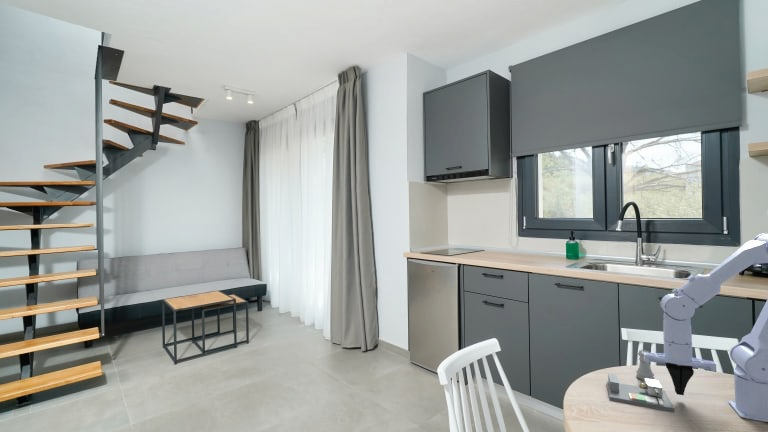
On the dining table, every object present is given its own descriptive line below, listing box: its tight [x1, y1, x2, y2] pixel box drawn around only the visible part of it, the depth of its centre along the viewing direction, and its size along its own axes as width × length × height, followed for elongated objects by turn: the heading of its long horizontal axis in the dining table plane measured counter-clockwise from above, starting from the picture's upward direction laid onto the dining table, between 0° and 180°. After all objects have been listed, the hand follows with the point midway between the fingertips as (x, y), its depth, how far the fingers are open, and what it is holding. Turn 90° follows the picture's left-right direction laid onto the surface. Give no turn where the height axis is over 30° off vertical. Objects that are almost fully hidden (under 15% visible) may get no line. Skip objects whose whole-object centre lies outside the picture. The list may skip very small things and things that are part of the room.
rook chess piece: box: [635, 349, 656, 382], centre depth 105 cm, size 4×4×8 cm
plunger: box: [638, 378, 663, 398], centre depth 93 cm, size 4×8×2 cm, turn 152°
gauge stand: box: [606, 372, 676, 413], centre depth 94 cm, size 14×10×3 cm
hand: (679, 393), depth 92 cm, fingers closed
